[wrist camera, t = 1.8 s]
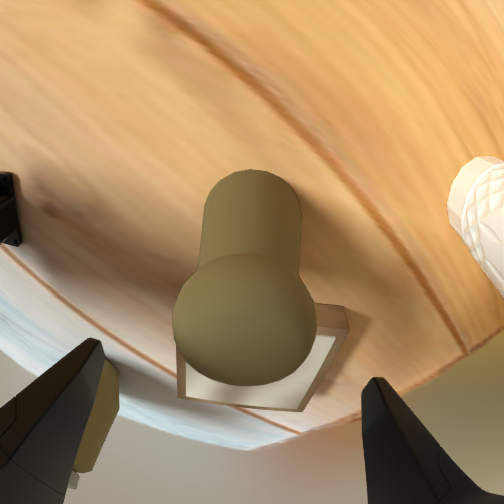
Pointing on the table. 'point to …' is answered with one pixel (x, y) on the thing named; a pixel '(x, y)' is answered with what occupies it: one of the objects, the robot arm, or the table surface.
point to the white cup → (481, 214)
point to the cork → (247, 286)
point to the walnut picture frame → (280, 392)
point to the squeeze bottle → (97, 423)
